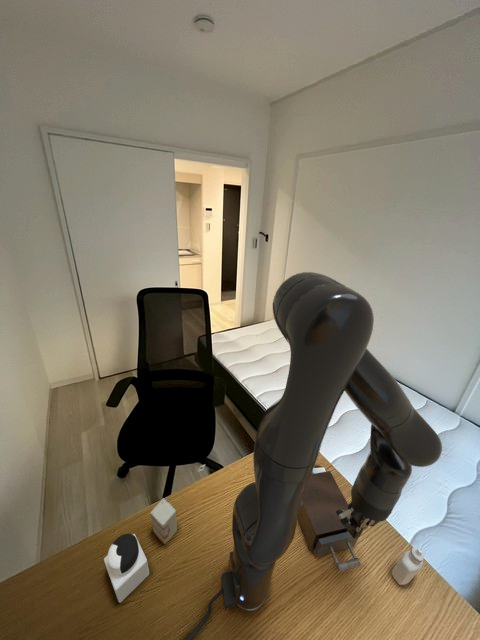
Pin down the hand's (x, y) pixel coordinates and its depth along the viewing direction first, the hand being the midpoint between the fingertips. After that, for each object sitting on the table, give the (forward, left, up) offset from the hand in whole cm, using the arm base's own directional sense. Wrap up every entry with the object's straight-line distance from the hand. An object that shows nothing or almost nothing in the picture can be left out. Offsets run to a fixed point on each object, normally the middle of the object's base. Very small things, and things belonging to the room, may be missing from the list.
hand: (353, 533), depth 57 cm
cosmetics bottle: (-44, +15, -15) cm, 49 cm away
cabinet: (0, +11, -14) cm, 18 cm away
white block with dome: (-52, +8, -15) cm, 55 cm away
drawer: (0, +6, -14) cm, 15 cm away
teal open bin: (-4, +21, -14) cm, 26 cm away
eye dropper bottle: (+15, -5, -15) cm, 21 cm away
